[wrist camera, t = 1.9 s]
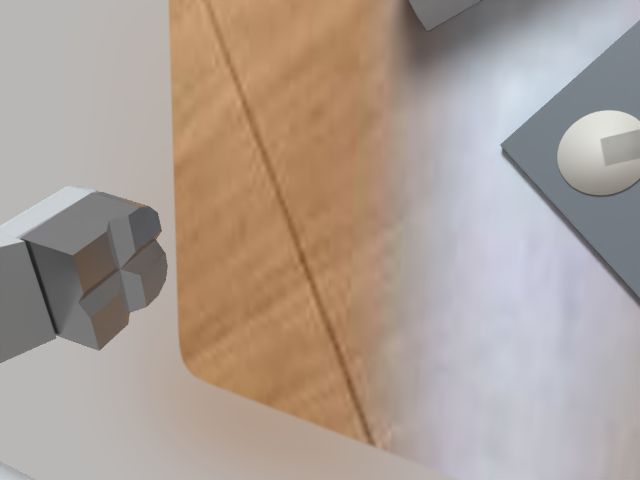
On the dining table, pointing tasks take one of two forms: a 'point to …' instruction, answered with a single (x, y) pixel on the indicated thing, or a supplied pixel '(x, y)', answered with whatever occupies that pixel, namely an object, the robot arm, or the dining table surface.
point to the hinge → (439, 10)
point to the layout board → (593, 154)
